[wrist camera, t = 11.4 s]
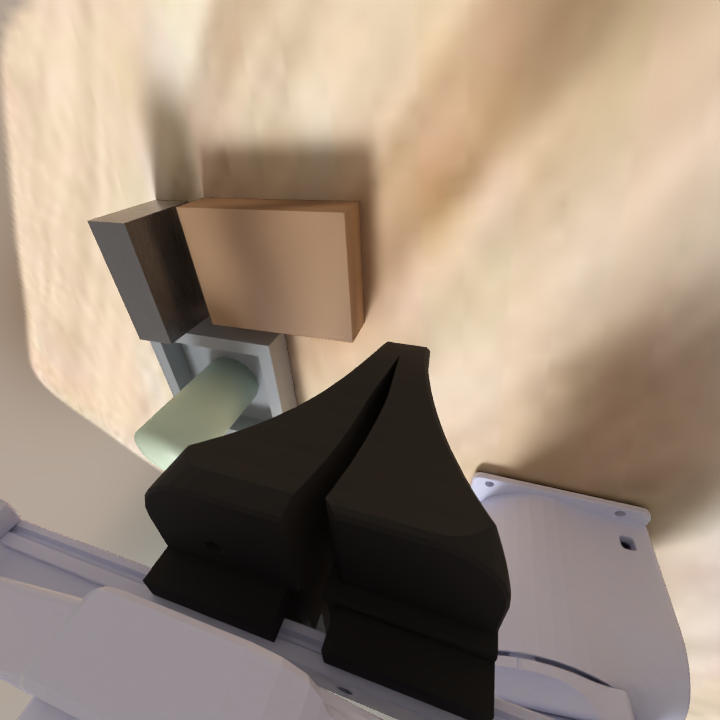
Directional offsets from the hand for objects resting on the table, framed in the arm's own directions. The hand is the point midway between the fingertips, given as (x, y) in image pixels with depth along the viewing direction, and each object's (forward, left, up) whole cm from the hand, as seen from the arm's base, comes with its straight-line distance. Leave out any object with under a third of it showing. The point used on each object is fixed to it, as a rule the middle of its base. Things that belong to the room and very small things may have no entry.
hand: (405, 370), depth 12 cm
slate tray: (+13, +8, -7) cm, 16 cm away
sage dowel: (+13, +8, -7) cm, 16 cm away
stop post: (+14, 0, -7) cm, 15 cm away
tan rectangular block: (+8, 0, -7) cm, 11 cm away
